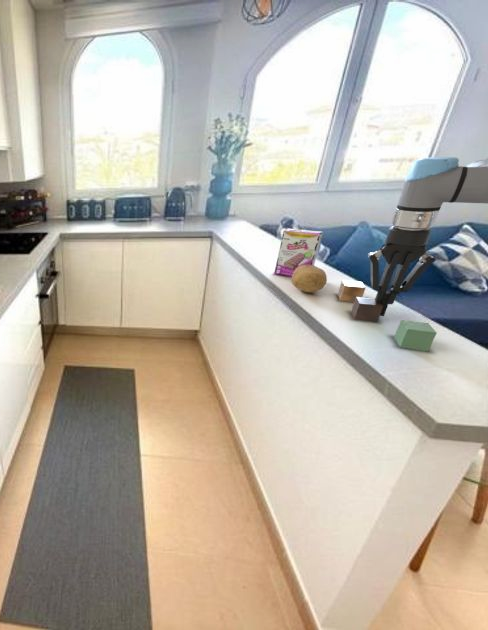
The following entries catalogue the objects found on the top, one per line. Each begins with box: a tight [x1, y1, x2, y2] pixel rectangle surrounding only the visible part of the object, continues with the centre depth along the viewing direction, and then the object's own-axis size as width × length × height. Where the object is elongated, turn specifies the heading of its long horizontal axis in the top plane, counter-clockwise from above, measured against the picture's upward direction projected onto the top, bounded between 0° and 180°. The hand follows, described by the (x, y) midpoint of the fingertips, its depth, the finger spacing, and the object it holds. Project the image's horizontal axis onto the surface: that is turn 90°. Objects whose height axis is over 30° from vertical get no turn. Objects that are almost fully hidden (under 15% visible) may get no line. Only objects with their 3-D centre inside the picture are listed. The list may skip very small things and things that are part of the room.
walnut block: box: [350, 296, 383, 323], centre depth 94 cm, size 5×5×5 cm
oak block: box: [337, 279, 366, 303], centre depth 105 cm, size 5×5×5 cm
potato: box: [291, 264, 328, 293], centre depth 113 cm, size 10×14×8 cm
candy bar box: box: [274, 227, 324, 278], centre depth 123 cm, size 11×5×16 cm, turn 46°
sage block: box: [393, 319, 437, 352], centre depth 81 cm, size 5×5×5 cm
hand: (379, 313), depth 94 cm, fingers closed
